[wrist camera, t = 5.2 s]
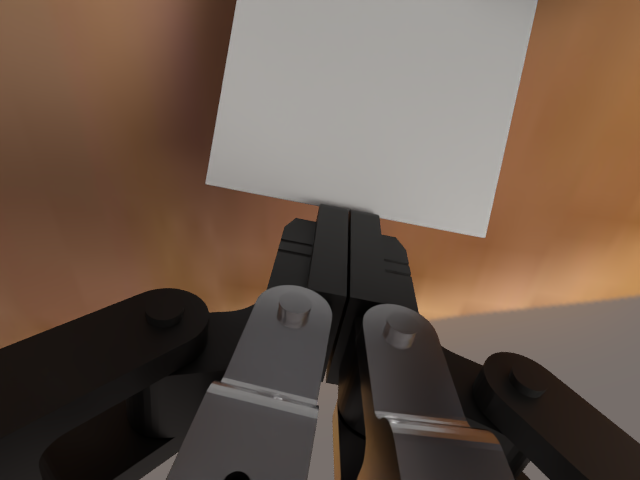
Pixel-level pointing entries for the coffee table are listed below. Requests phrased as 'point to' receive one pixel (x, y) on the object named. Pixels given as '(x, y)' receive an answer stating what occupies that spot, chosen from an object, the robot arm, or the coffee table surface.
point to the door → (372, 105)
